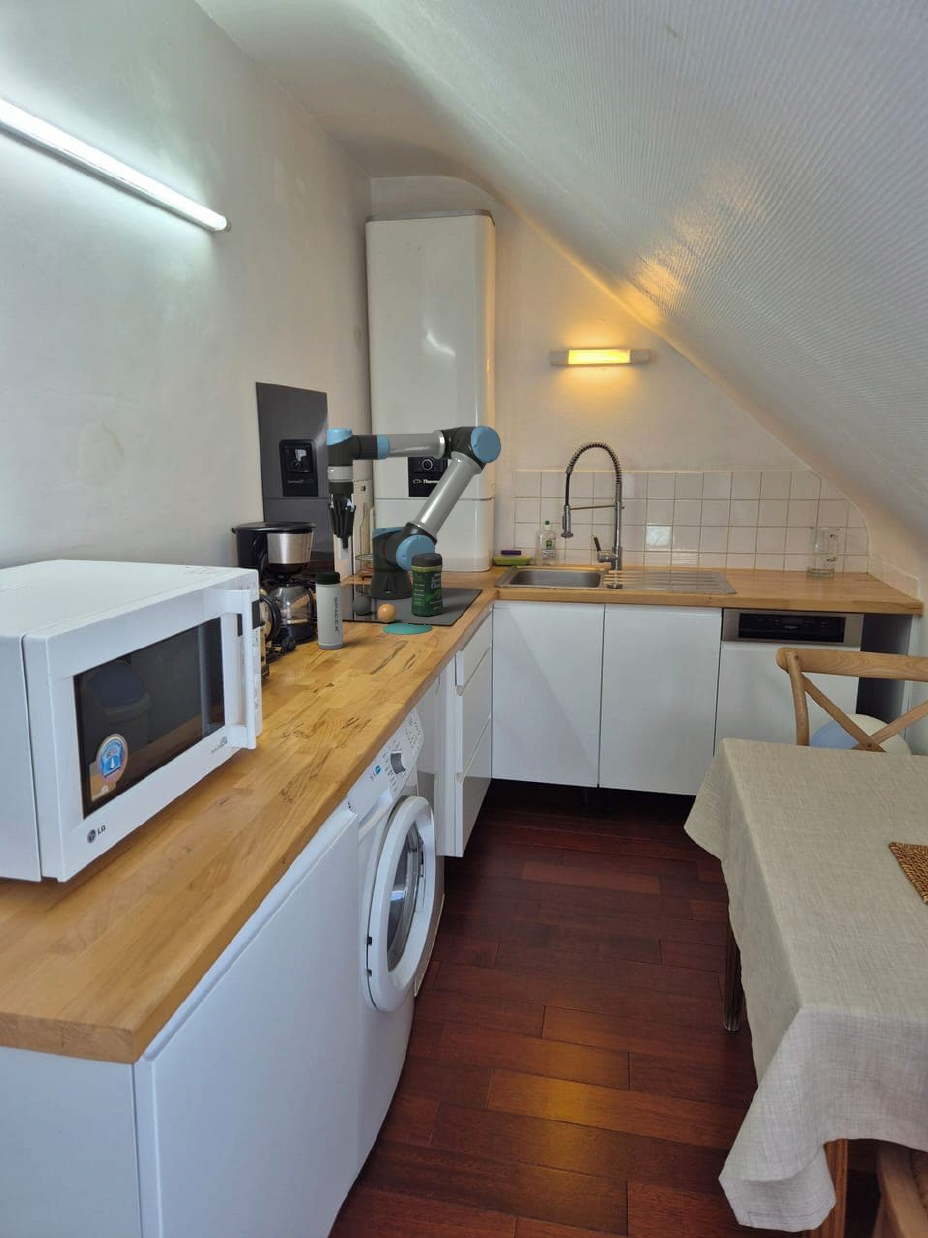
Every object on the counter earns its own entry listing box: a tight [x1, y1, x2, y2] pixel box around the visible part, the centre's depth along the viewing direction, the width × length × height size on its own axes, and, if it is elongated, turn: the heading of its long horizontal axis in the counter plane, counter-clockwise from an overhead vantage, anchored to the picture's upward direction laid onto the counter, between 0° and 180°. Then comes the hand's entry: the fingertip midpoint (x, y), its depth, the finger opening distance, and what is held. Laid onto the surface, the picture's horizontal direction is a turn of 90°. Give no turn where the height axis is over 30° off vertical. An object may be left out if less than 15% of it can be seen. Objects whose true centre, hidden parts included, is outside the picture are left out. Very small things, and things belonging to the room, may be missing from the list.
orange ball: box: [377, 603, 398, 624], centre depth 238 cm, size 6×6×6 cm
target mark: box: [381, 622, 433, 635], centre depth 231 cm, size 14×14×1 cm
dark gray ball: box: [351, 596, 371, 616], centre depth 248 cm, size 6×6×6 cm
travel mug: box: [313, 569, 344, 651], centre depth 209 cm, size 6×7×20 cm
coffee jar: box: [410, 552, 444, 617], centre depth 247 cm, size 10×8×19 cm
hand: (343, 558), depth 252 cm, fingers closed
